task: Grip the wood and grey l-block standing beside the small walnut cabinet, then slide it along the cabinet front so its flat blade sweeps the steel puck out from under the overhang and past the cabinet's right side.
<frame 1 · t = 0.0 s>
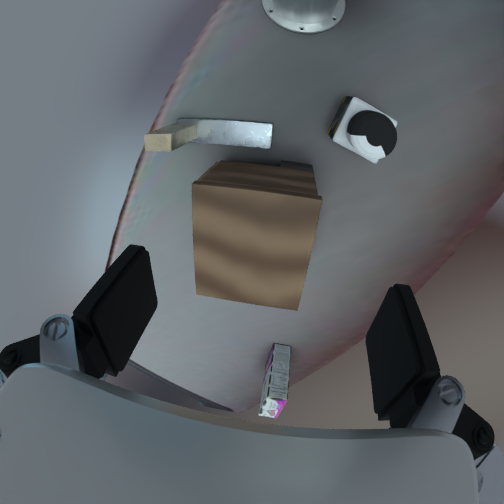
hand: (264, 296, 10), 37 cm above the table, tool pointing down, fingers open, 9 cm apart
candy bar box: (278, 355, 70), on the table
cabinet: (264, 203, 48), on the table
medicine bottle: (355, 124, 38), on the table
wood and grey l-block: (188, 129, 42), on the table
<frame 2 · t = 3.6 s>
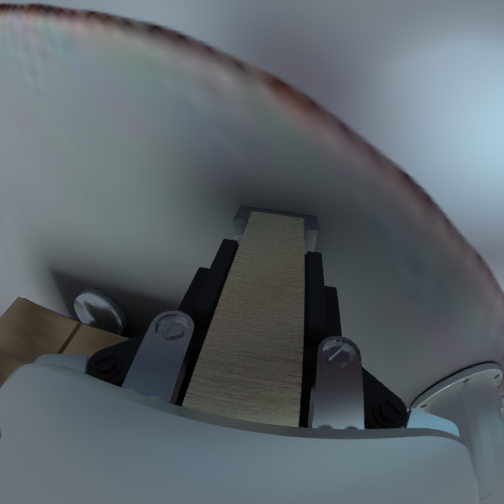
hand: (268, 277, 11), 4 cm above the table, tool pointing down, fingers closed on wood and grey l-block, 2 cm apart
cabinet: (131, 344, 23), on the table
wood and grey l-block: (275, 236, 15), on the table, touching gripper
steel token: (104, 308, 22), on the table
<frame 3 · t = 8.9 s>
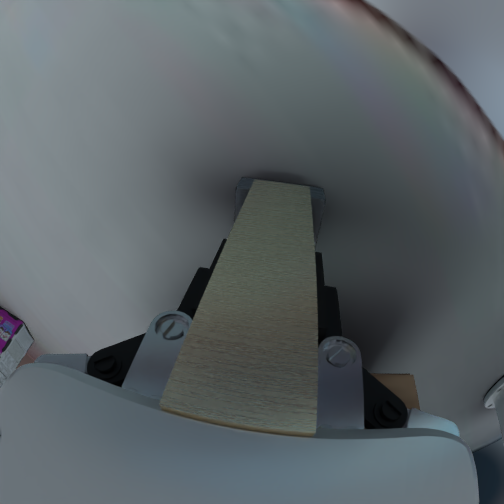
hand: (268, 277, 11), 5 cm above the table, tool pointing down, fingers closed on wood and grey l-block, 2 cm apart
candy bar box: (12, 319, 31), on the table
cabinet: (281, 372, 22), on the table
wood and grey l-block: (279, 209, 14), on the table, touching gripper
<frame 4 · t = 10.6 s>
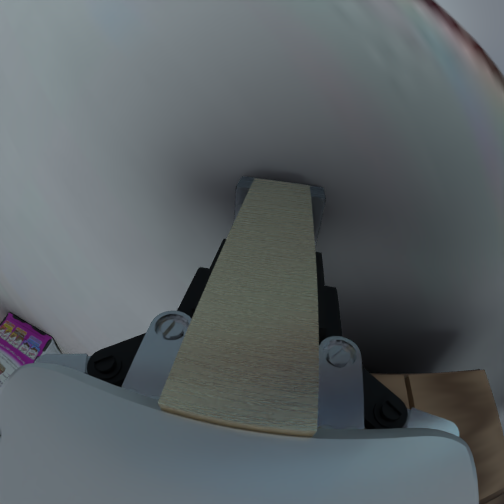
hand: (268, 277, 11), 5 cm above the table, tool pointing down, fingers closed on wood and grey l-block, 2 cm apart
candy bar box: (36, 333, 30), on the table
cabinet: (359, 379, 22), on the table
wood and grey l-block: (279, 208, 14), on the table, touching gripper
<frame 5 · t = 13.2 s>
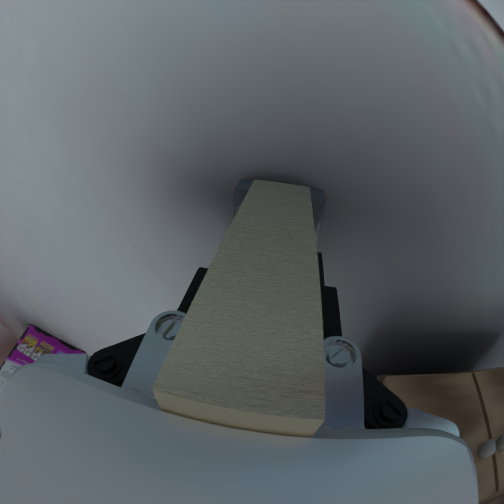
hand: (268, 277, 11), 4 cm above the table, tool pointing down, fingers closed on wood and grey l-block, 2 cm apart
candy bar box: (62, 346, 29), on the table
cabinet: (415, 380, 21), on the table
wood and grey l-block: (278, 211, 14), on the table, touching gripper
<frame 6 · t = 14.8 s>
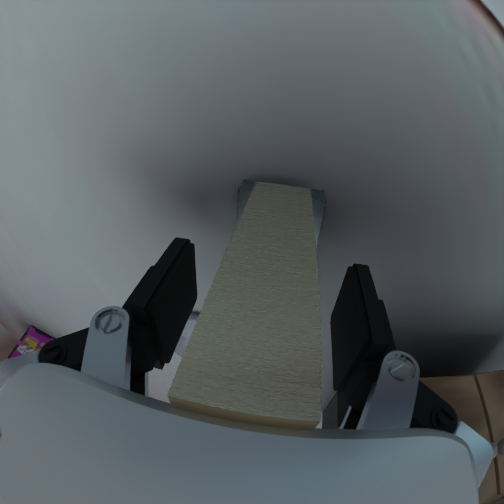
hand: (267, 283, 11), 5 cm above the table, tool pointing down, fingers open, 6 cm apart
candy bar box: (62, 348, 29), on the table
cabinet: (416, 382, 21), on the table
wood and grey l-block: (280, 211, 14), on the table
steel token: (203, 332, 21), on the table
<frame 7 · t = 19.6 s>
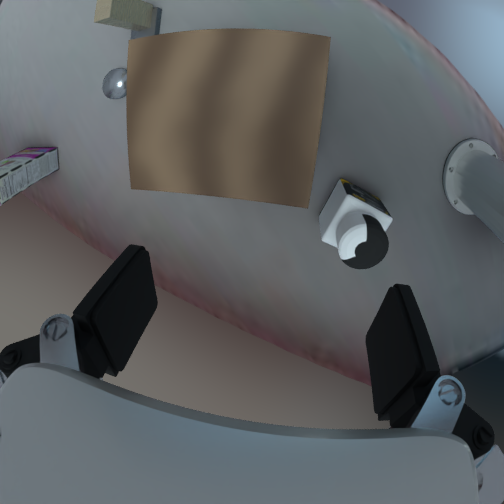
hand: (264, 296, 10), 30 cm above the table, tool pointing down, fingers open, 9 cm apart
candy bar box: (43, 157, 41), on the table
cabinet: (248, 104, 33), on the table
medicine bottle: (349, 207, 39), on the table
wood and grey l-block: (149, 19, 27), on the table
steel token: (120, 83, 33), on the table
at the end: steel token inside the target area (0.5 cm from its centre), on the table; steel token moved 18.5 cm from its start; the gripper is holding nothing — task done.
